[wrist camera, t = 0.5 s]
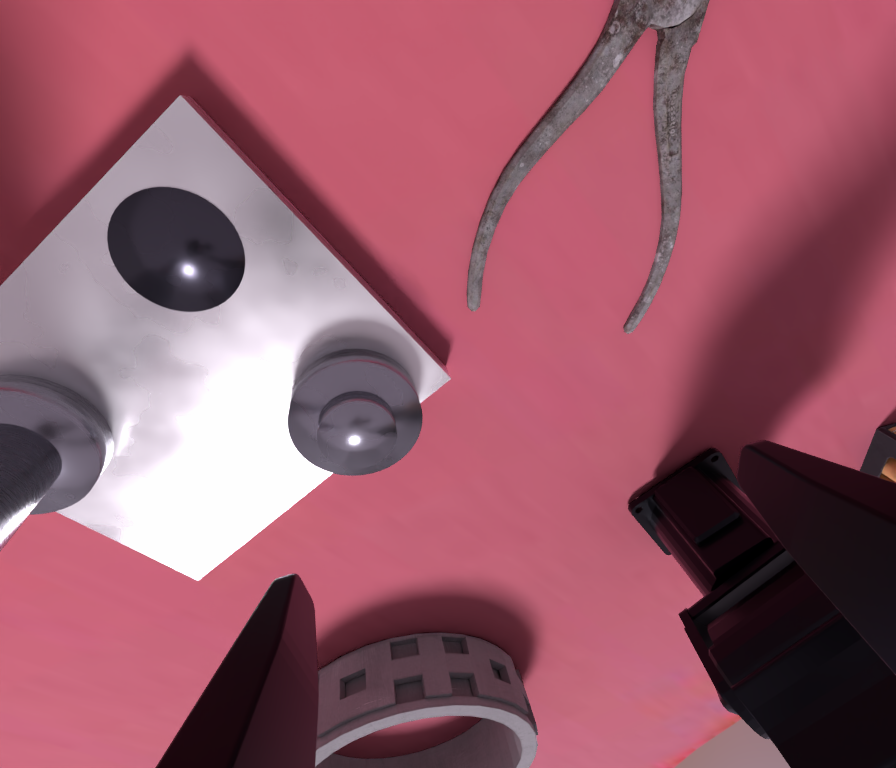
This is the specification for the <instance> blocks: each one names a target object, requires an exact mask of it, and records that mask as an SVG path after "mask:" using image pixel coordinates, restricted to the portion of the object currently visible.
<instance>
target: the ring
mask: <svg viewBox="0 0 896 768" xmlns="http://www.w3.org/2000/svg"><path fill="white" fill-rule="evenodd" d="M318 685H319V705H318V725H317V743H316V761H315V768H529V767H530V765H531V763H532V762H533V760H534V758H535V755H536V750H537V746H538V744H537V738H536V735H538V732H537V726H536V722H535V719H534V716H533V713H532V710H531V706H530V703H529V700H528V697H527V694H526V691H525V688H524V685H523V682H522V679H521V676H520V673H519V670H518V669H517V670H515V667H514V665H513V662H512V659H511V657H510V656H509V655H508V654H506V653H505V652H504V651H503V650H502V649H500V648H498V647H497V646H496V645H493V644H491V643H489V642H487V641H485V640H483V639H480V638H476V637H471V636H467V635H463V634H452V633H423V634H412V635H407V636H401V637H396V638H390V639H387V640H384V641H380V642H377V643H374V644H370V645H367V646H364V647H362V648H360V649H357V650H355V651H353V652H351V653H348V654H346V655H344V656H342V657H340V658H338V659H337V660H335V661H333V662H332V663H330V664H329V665H327V666H325V667H324V668H322V669H321V670H320V671H318ZM442 716H474V717H480V718H482V719H481V720H480V721H479V722H478V723H477V724H475V725H474V726H473V727H471V728H470V729H469V730H467V731H466V732H464V733H462V734H460V735H459V736H457V737H455V738H453V739H451V740H449V741H447V742H445V743H442V744H440V745H438V746H435V747H432V748H429V749H426V750H423V751H420V752H416V753H412V754H408V755H403V756H397V757H389V758H377V759H362V758H351V757H346V756H341V755H337V754H334V753H333V752H335V751H337V750H339V749H340V748H342V747H344V746H345V745H347V744H349V743H351V742H352V741H355V740H357V739H359V738H361V737H364V736H366V735H368V734H371V733H373V732H375V731H378V730H381V729H385V728H388V727H391V726H394V725H397V724H400V723H405V722H410V721H414V720H419V719H424V718H432V717H442Z"/></svg>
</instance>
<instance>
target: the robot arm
mask: <svg viewBox="0 0 896 768" xmlns="http://www.w3.org/2000/svg"><path fill="white" fill-rule="evenodd" d="M737 480H738V481H737ZM745 494H746V495H745ZM628 509H629V511H630V512H631V514H632V515H633V516H634V517H635V519H636V520H637V521H638V522H639V523H640V525H641V526H642V527H643V528H644V529H645V530H646V532H647V533H648V534H649V535H650V536H651V538H652V539H653V540H654V541H655V542H656V543H657V545H658V546H659V547H660V548H661V549H662V551H663V552H664V553H665V554H666V555H671V554H672V555H673V557H674V558H675V559H676V560H677V562H678V563H679V564H680V566H681V567H682V568H683V570H684V571H685V572H686V574H687V575H688V576H689V578H690V579H691V580H692V582H693V583H694V584H695V585H696V587H697V588H698V589H699V591H700V592H701V593H702V595H703V596H704V597H703V598H702V599H700V600H699V601H698V602H697V603H695V604H694V605H693V606H691V607H690V608H689V609H687V608H686V609H684V610H683V611H682V612H680V613H679V616H680V618H681V620H682V622H683V624H684V626H685V628H684V629H685V631H686V633H687V635H688V637H689V639H690V641H691V643H692V644H693V646H694V648H695V650H696V652H697V654H698V656H699V658H700V659H701V661H702V663H703V665H704V667H705V669H706V671H707V673H708V675H709V676H710V678H711V680H712V682H713V684H714V686H715V688H716V691H717V693H718V696H719V699H720V701H721V703H722V705H723V706H724V707H725V708H726V709H727V710H728V711H729V712H731V713H734V714H737V715H739V716H740V717H741V718H742V719H743V720H744V721H745V722H746V723H747V724H748V725H749V726H750V727H751V728H752V729H753V730H754V731H755V732H756V733H757V734H759V735H760V736H762V737H763V738H765V739H771V741H772V742H773V743H774V744H775V746H776V747H777V748H778V750H779V751H780V753H781V754H782V755H783V757H784V759H785V760H786V762H787V763H788V764H789V766H790V767H791V768H896V483H894V482H891V481H888V480H885V479H882V478H879V477H876V476H873V475H870V474H867V473H864V472H861V471H858V470H855V469H852V468H848V467H845V466H842V465H839V464H836V463H833V462H830V461H827V460H824V459H821V458H818V457H815V456H812V455H809V454H806V453H803V452H800V451H797V450H794V449H791V448H788V447H785V446H782V445H779V444H776V443H773V442H770V441H766V440H760V441H756V442H752V443H749V444H746V445H744V446H743V447H742V448H741V451H740V456H739V463H738V469H737V479H736V477H735V476H734V474H733V472H732V470H731V469H730V467H729V465H728V464H727V462H726V460H725V458H724V457H723V455H722V454H721V453H720V452H719V451H718V450H717V449H715V448H712V449H709V450H707V451H706V452H704V453H703V454H702V455H700V456H699V457H697V458H696V459H694V460H693V461H691V462H690V463H688V464H687V465H685V466H684V467H682V468H681V469H680V470H678V471H677V472H675V473H674V474H672V475H671V476H669V477H668V478H666V479H665V480H663V481H662V482H661V483H659V484H658V485H656V486H655V487H653V488H652V489H650V490H649V491H647V492H646V493H644V494H643V495H641V496H640V497H639V498H637V499H636V500H634V501H633V502H631V503H630V505H629V506H628ZM318 705H319V685H318V664H317V644H316V624H315V609H314V604H313V601H312V598H311V596H310V594H309V593H308V591H307V589H306V587H305V585H304V584H303V582H302V580H301V578H300V577H299V575H297V574H290V575H286V576H283V577H279V578H277V579H275V580H274V581H273V582H272V584H271V585H270V587H269V588H268V590H267V592H266V593H265V595H264V596H263V598H262V599H261V601H260V603H259V604H258V606H257V607H256V609H255V611H254V612H253V614H252V615H251V617H250V619H249V620H248V622H247V623H246V625H245V627H244V628H243V630H242V631H241V633H240V634H239V636H238V638H237V639H236V641H235V642H234V644H233V646H232V647H231V649H230V650H229V652H228V654H227V655H226V657H225V658H224V660H223V661H222V663H221V665H220V666H219V668H218V669H217V671H216V673H215V674H214V676H213V677H212V679H211V681H210V682H209V684H208V685H207V687H206V689H205V690H204V692H203V693H202V695H201V696H200V698H199V700H198V701H197V703H196V704H195V706H194V708H193V709H192V711H191V712H190V714H189V716H188V717H187V719H186V720H185V722H184V723H183V725H182V727H181V728H180V730H179V731H178V733H177V735H176V736H175V738H174V739H173V741H172V743H171V744H170V746H169V747H168V749H167V751H166V752H165V754H164V755H163V757H162V758H161V760H160V762H159V763H158V765H157V766H156V768H315V761H316V743H317V725H318Z"/></svg>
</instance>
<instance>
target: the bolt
mask: <svg viewBox="0 0 896 768" xmlns="http://www.w3.org/2000/svg"><path fill="white" fill-rule="evenodd" d="M113 450H114V440H113V435H112V432H111V429H110V427H109V425H108V423H107V421H106V419H105V418H104V417H103V415H102V414H101V413H100V412H99V411H98V409H97V408H96V407H95V406H94V405H92V404H91V403H90V402H89V401H88V400H87V399H85V398H84V397H82V396H81V395H79V394H78V393H76V392H74V391H72V390H71V389H69V388H67V387H65V386H62V385H60V384H58V383H55V382H52V381H49V380H46V379H42V378H38V377H32V376H26V375H13V374H10V375H0V551H1V550H2V549H3V548H4V546H5V545H6V544H7V542H8V541H9V540H10V539H11V537H12V536H13V535H14V533H15V532H16V531H17V530H18V528H19V527H20V526H21V524H22V523H23V522H24V521H25V519H26V518H27V517H28V516H29V515H30V514H44V513H50V512H55V511H58V510H62V509H64V508H67V507H69V506H72V505H73V504H75V503H77V502H79V501H80V500H81V499H83V498H84V497H85V496H86V495H87V494H88V493H89V492H90V491H91V489H92V488H93V486H94V485H95V483H96V482H97V480H98V479H99V477H100V476H101V474H102V473H103V471H104V470H105V468H106V467H107V465H108V464H109V462H110V460H111V457H112V454H113Z"/></svg>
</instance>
